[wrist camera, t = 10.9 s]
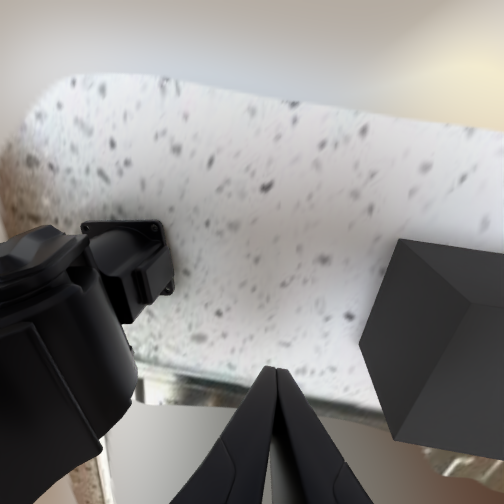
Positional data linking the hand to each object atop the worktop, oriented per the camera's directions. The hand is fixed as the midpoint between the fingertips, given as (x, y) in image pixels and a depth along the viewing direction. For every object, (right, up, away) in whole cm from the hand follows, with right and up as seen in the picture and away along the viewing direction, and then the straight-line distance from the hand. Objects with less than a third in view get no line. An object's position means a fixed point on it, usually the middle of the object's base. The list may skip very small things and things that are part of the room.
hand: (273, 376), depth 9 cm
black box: (+14, 0, +12) cm, 19 cm away
